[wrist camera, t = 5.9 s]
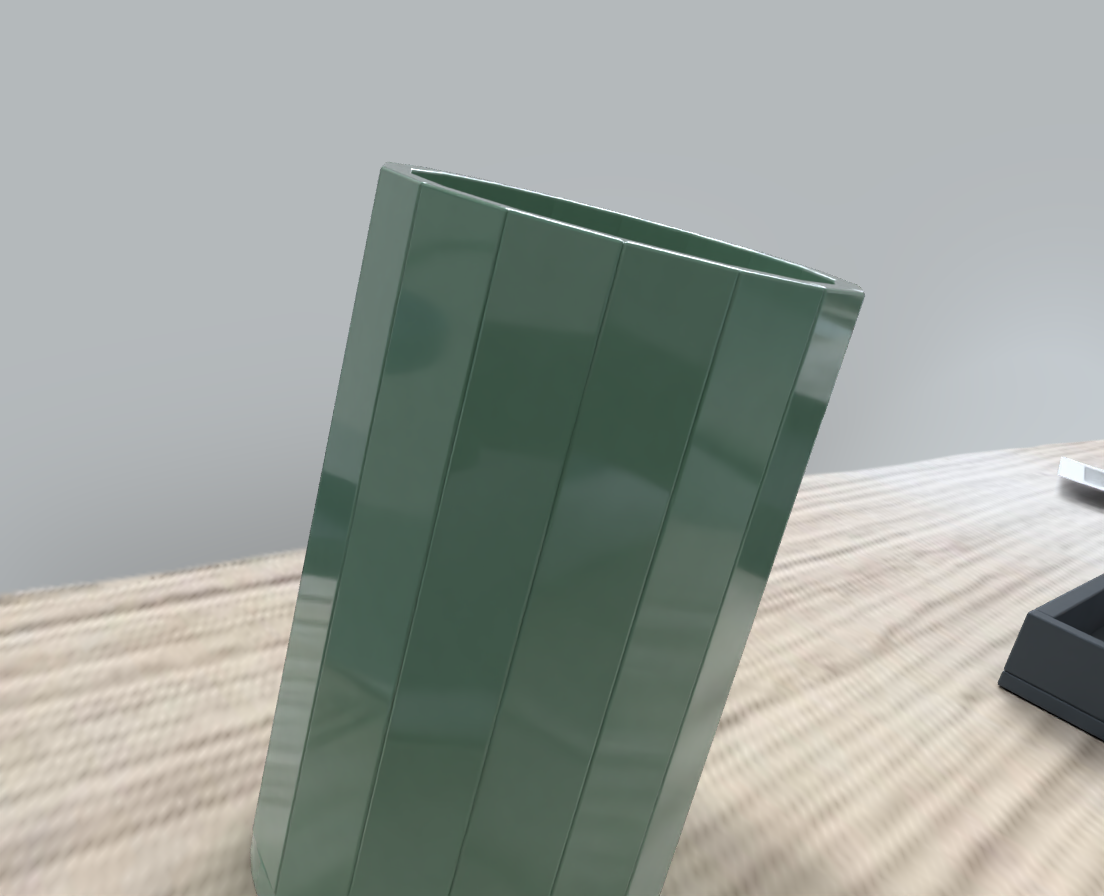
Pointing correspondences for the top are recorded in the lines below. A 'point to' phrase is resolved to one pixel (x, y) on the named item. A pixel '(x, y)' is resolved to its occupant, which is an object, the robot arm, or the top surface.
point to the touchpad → (1081, 473)
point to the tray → (1063, 657)
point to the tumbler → (535, 543)
